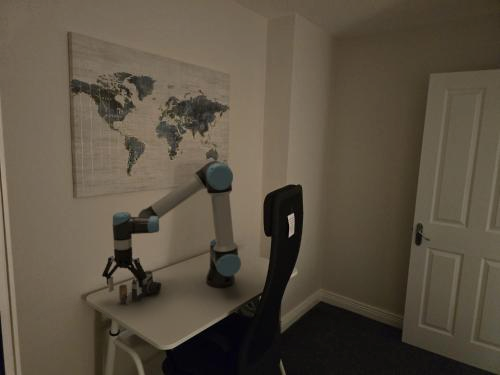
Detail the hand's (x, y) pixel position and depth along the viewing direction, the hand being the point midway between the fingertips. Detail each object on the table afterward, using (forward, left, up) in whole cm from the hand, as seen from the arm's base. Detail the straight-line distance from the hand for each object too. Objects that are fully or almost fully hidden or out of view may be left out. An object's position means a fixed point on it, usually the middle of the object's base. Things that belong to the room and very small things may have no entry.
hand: (125, 292), depth 149 cm
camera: (-6, -10, -5) cm, 13 cm away
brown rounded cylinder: (+1, 0, -5) cm, 5 cm away
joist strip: (0, -6, -5) cm, 8 cm away
